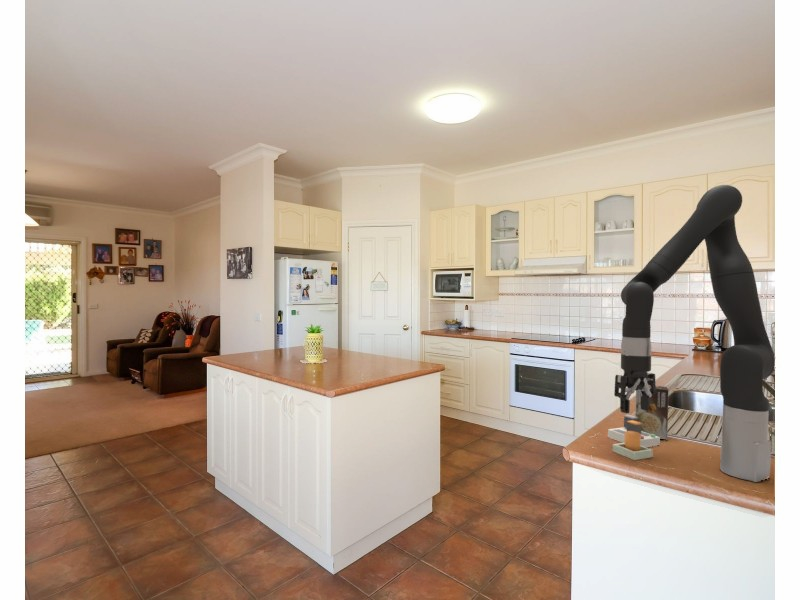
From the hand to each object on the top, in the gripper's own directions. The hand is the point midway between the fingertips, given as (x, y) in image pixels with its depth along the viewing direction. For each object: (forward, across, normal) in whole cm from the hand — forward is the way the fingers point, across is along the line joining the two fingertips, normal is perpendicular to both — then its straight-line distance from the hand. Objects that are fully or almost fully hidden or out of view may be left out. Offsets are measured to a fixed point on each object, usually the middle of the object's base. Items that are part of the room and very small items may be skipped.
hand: (635, 411), depth 125 cm
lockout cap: (+12, -1, -1) cm, 13 cm away
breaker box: (+12, -12, -9) cm, 19 cm away
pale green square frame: (+12, -1, -1) cm, 12 cm away
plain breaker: (+9, -14, -12) cm, 21 cm away
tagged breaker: (+9, -9, -7) cm, 15 cm away
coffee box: (+12, -22, -10) cm, 27 cm away
